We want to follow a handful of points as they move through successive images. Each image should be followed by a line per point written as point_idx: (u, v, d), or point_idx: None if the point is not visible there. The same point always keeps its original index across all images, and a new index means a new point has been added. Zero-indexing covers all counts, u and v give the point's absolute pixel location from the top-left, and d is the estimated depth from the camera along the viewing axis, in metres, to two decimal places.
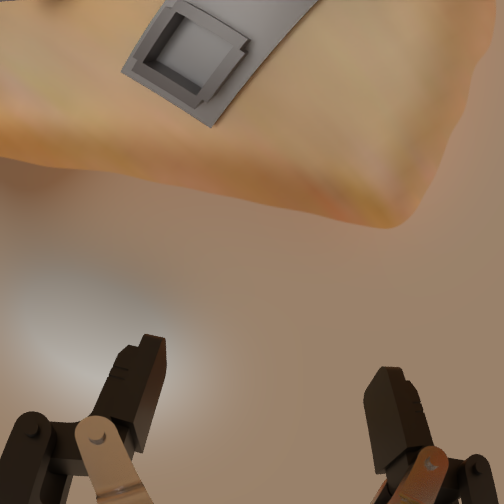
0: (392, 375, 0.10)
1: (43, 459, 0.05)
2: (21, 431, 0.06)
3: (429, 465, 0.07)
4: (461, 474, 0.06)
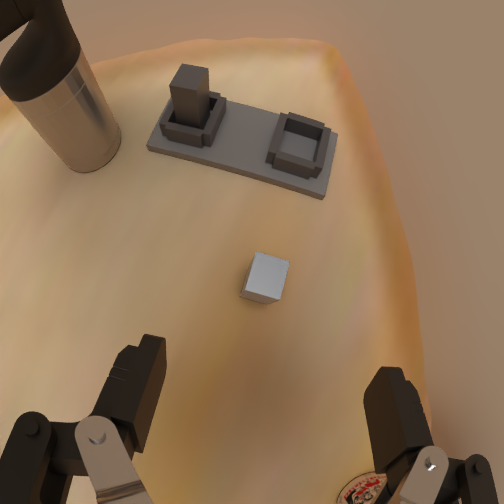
0: (392, 375, 0.10)
1: (43, 459, 0.05)
2: (21, 431, 0.06)
3: (429, 465, 0.07)
4: (461, 474, 0.06)
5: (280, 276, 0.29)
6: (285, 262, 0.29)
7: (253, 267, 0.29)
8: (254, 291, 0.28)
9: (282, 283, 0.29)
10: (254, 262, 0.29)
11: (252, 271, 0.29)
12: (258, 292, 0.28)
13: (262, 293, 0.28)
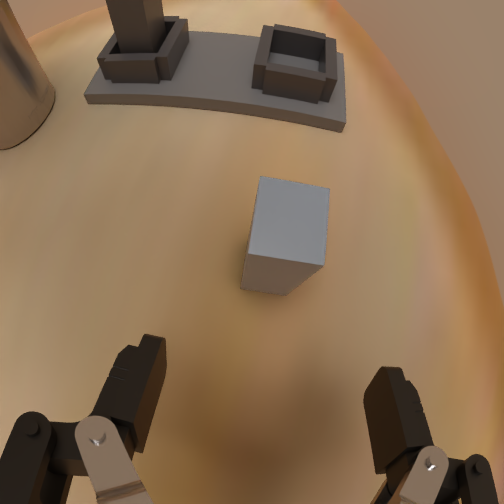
0: (392, 375, 0.10)
1: (43, 459, 0.05)
2: (21, 431, 0.06)
3: (429, 465, 0.07)
4: (461, 474, 0.06)
5: (317, 219, 0.14)
6: (321, 191, 0.14)
7: (259, 206, 0.14)
8: (268, 254, 0.13)
9: (323, 231, 0.14)
10: (259, 196, 0.14)
11: (258, 214, 0.14)
12: (277, 255, 0.13)
13: (286, 256, 0.13)
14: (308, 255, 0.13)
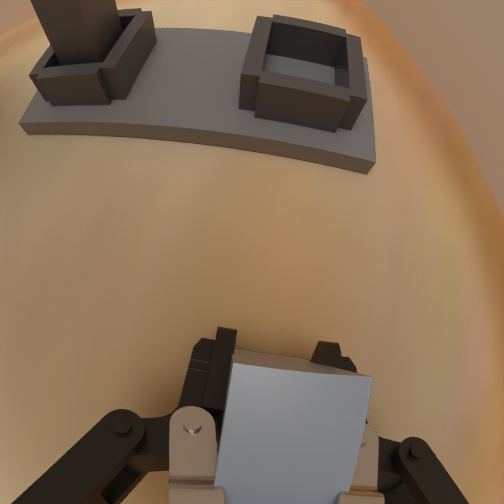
0: (327, 349, 0.11)
1: (123, 460, 0.06)
2: (109, 426, 0.07)
3: None
4: (398, 464, 0.07)
5: (342, 441, 0.06)
6: (356, 384, 0.07)
7: (230, 428, 0.06)
8: None
9: (351, 460, 0.06)
10: (232, 409, 0.06)
11: (229, 443, 0.06)
12: None
13: None
14: (318, 501, 0.06)
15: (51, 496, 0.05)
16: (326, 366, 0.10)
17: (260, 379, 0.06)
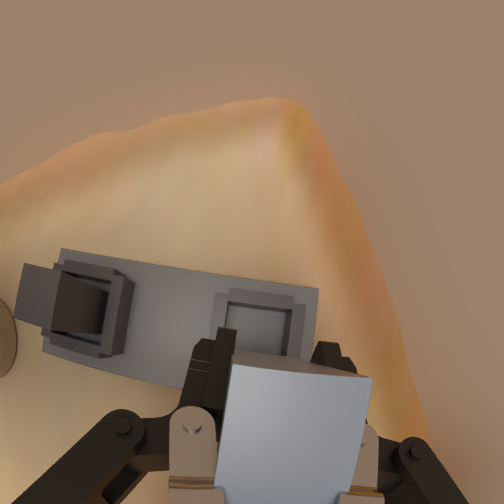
0: (327, 349, 0.11)
1: (123, 460, 0.06)
2: (109, 426, 0.07)
3: None
4: (398, 464, 0.07)
5: (341, 442, 0.06)
6: (356, 385, 0.07)
7: (230, 429, 0.06)
8: None
9: (350, 461, 0.06)
10: (231, 410, 0.06)
11: (228, 444, 0.06)
12: None
13: None
14: (318, 502, 0.06)
15: (51, 496, 0.05)
16: (326, 367, 0.10)
17: (260, 380, 0.06)
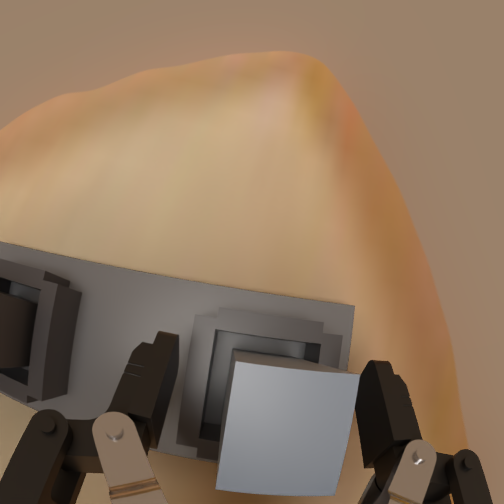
0: (380, 369, 0.10)
1: (58, 458, 0.06)
2: (37, 428, 0.06)
3: (416, 459, 0.07)
4: (450, 470, 0.07)
5: (332, 432, 0.07)
6: (345, 381, 0.07)
7: (233, 419, 0.07)
8: (248, 490, 0.07)
9: (340, 449, 0.07)
10: (234, 402, 0.07)
11: (232, 432, 0.07)
12: (262, 491, 0.07)
13: (276, 491, 0.07)
14: (311, 486, 0.07)
15: None
16: (320, 365, 0.11)
17: (259, 375, 0.07)
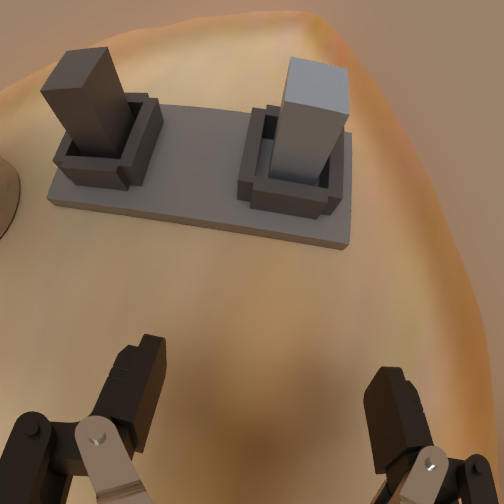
0: (392, 375, 0.10)
1: (43, 459, 0.05)
2: (21, 431, 0.06)
3: (429, 465, 0.07)
4: (461, 474, 0.06)
5: (339, 85, 0.15)
6: (340, 69, 0.15)
7: (291, 73, 0.15)
8: (302, 102, 0.14)
9: (345, 93, 0.14)
10: (291, 68, 0.15)
11: (291, 78, 0.15)
12: (309, 103, 0.14)
13: (317, 105, 0.14)
14: (335, 106, 0.14)
15: None
16: None
17: (301, 61, 0.15)
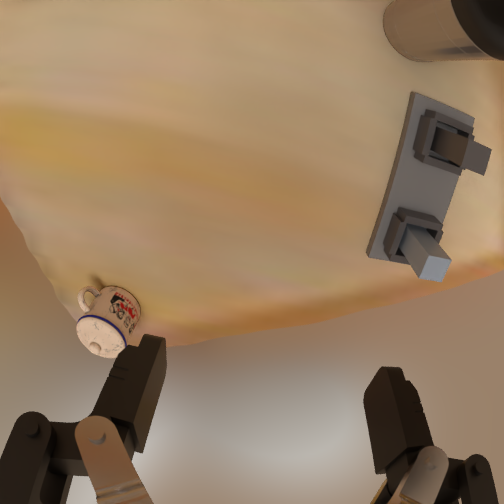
0: (392, 375, 0.10)
1: (43, 459, 0.05)
2: (21, 431, 0.06)
3: (429, 465, 0.07)
4: (461, 474, 0.06)
5: (433, 277, 0.34)
6: (441, 279, 0.34)
7: (442, 259, 0.33)
8: (426, 261, 0.33)
9: (428, 278, 0.35)
10: (445, 259, 0.33)
11: (439, 258, 0.33)
12: (425, 264, 0.34)
13: (424, 266, 0.34)
14: (423, 273, 0.34)
15: None
16: None
17: (448, 264, 0.33)
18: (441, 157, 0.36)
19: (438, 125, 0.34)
